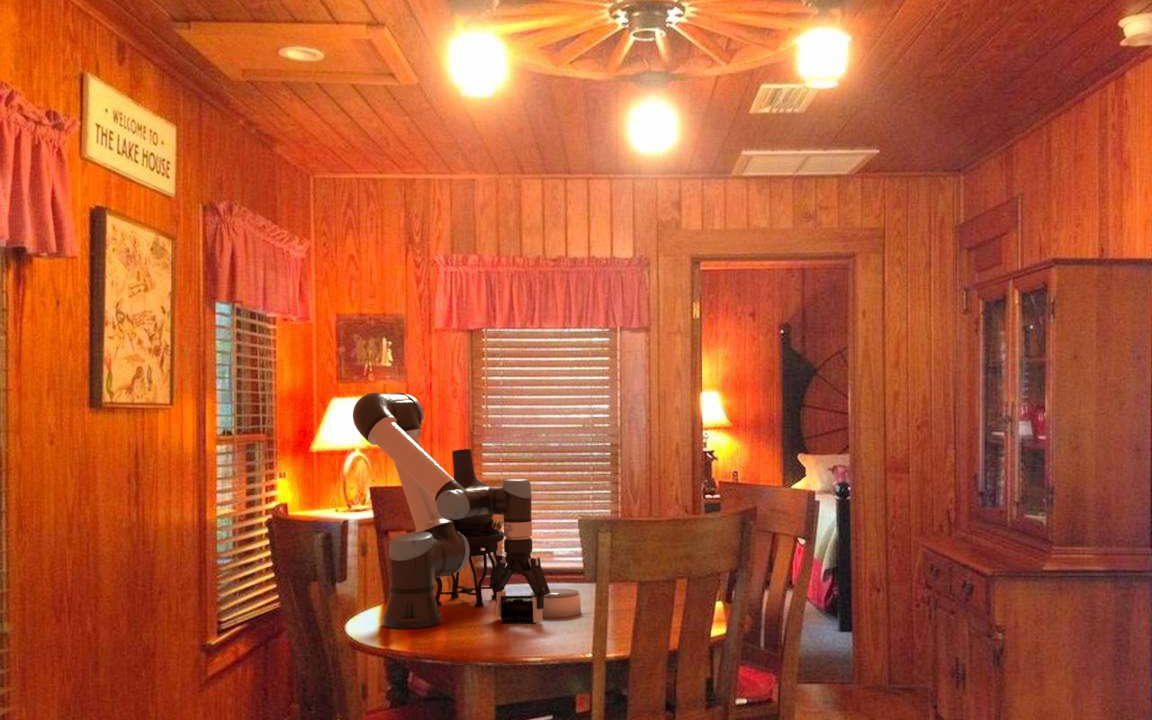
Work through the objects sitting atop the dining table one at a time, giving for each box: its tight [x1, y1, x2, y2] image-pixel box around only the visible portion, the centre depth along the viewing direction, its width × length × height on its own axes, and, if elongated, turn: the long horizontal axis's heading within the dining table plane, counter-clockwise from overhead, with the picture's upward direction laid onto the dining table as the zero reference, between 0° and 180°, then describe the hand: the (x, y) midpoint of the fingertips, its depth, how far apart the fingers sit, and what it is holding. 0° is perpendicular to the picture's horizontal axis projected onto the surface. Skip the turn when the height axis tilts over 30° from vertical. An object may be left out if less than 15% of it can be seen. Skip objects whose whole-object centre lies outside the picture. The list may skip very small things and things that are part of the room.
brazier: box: [434, 448, 505, 608], centre depth 314 cm, size 22×22×45 cm
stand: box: [529, 588, 582, 619], centre depth 292 cm, size 14×14×6 cm
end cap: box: [500, 595, 537, 625], centre depth 280 cm, size 10×7×7 cm
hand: (519, 618), depth 280 cm, fingers open, 13 cm apart
